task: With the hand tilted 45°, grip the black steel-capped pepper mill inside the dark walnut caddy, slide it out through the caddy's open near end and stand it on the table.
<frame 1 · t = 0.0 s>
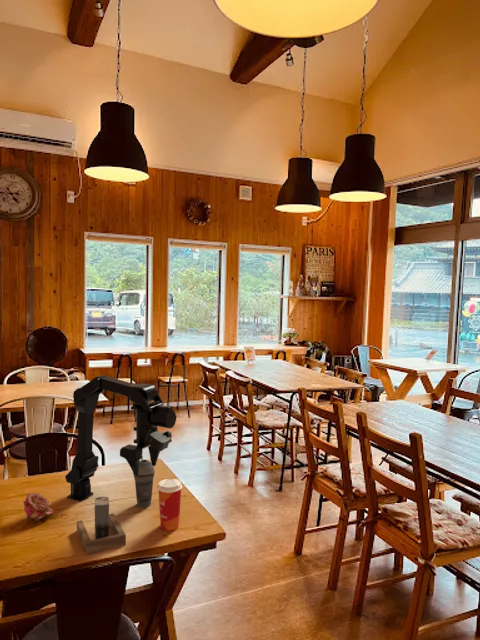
hand: (145, 470, 155), 15 cm above the table, tool pointing down, fingers open, 9 cm apart
paper cup: (169, 527, 149), on the table
pepper mill: (102, 540, 140), resting in walnut caddy
beverage cup: (144, 505, 163), on the table
flower: (39, 519, 153), on the table
walnut caddy: (100, 536, 142), on the table
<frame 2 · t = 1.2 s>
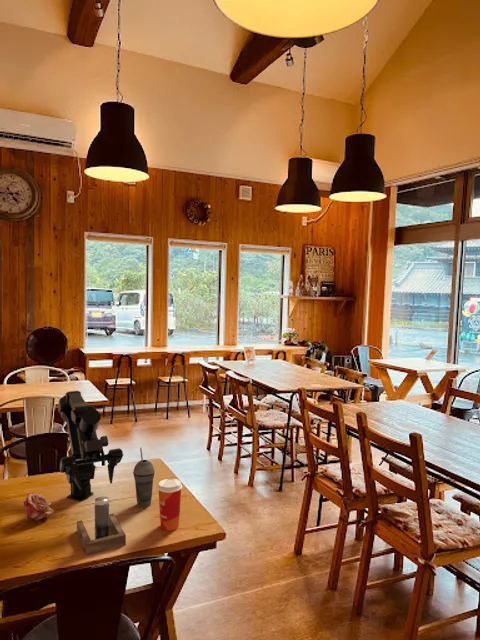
hand: (96, 485, 146), 13 cm above the table, tool tilted 45°, fingers open, 9 cm apart
nothing on the table moved.
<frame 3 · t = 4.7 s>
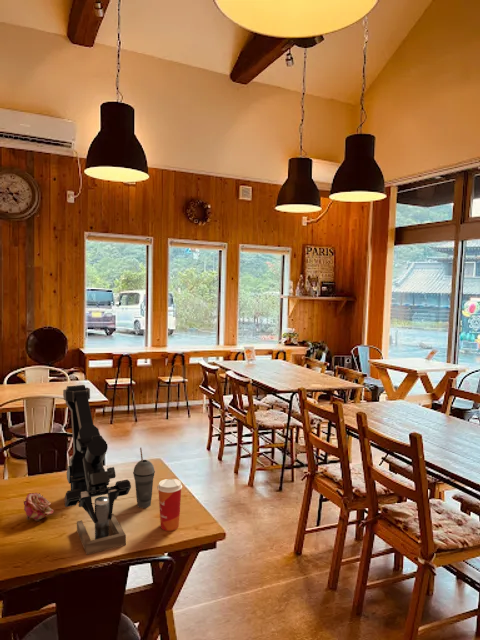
hand: (103, 521, 139), 7 cm above the table, tool tilted 45°, fingers closed on pepper mill, 4 cm apart
pepper mill: (102, 540, 140), resting in walnut caddy, touching gripper
everything else where it was.
when the fingers open (7 cm above the table, at t = 9.7 s): pepper mill stays where it is, on the table.
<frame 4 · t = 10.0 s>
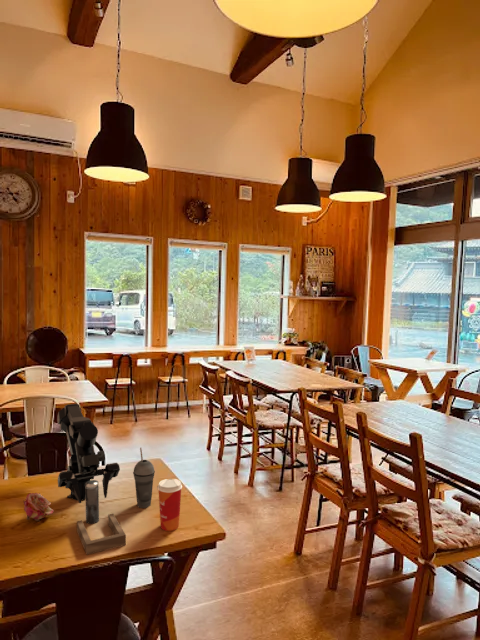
hand: (93, 500, 150), 7 cm above the table, tool tilted 45°, fingers open, 7 cm apart
pepper mill: (92, 520, 152), on the table
everything else where it was.
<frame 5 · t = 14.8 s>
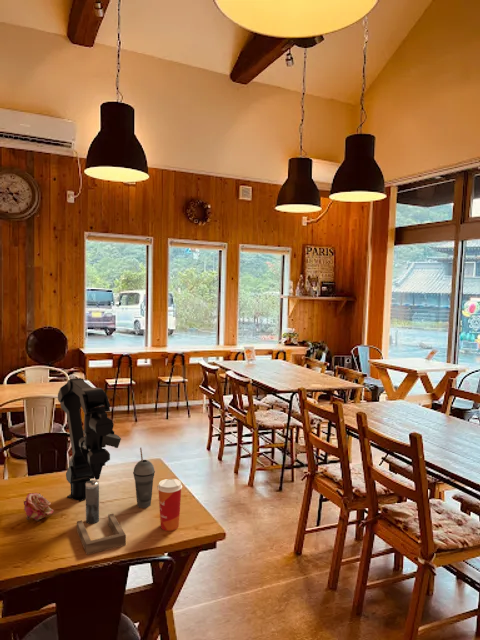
hand: (94, 474, 156), 13 cm above the table, tool pointing down, fingers open, 9 cm apart
nothing on the table moved.
at the end: pepper mill inside the target area (0.2 cm from its centre), on the table; pepper mill tilted 0°; the gripper is holding nothing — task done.
